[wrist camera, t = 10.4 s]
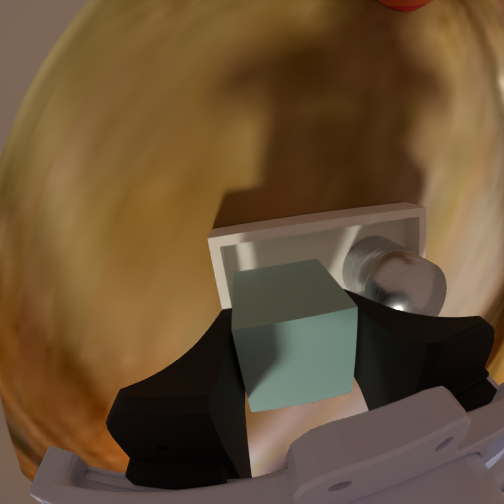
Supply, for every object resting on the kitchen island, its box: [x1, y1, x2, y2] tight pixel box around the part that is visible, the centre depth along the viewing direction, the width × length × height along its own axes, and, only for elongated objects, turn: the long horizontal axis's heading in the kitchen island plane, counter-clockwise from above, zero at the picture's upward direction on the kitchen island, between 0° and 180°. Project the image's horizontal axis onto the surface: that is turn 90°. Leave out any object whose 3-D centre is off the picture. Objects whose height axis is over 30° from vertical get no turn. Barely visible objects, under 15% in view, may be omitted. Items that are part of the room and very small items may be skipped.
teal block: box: [232, 259, 358, 412], centre depth 11 cm, size 4×4×5 cm
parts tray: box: [208, 202, 426, 310], centre depth 15 cm, size 12×7×2 cm, turn 98°
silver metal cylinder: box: [342, 236, 447, 317], centre depth 13 cm, size 4×4×5 cm
